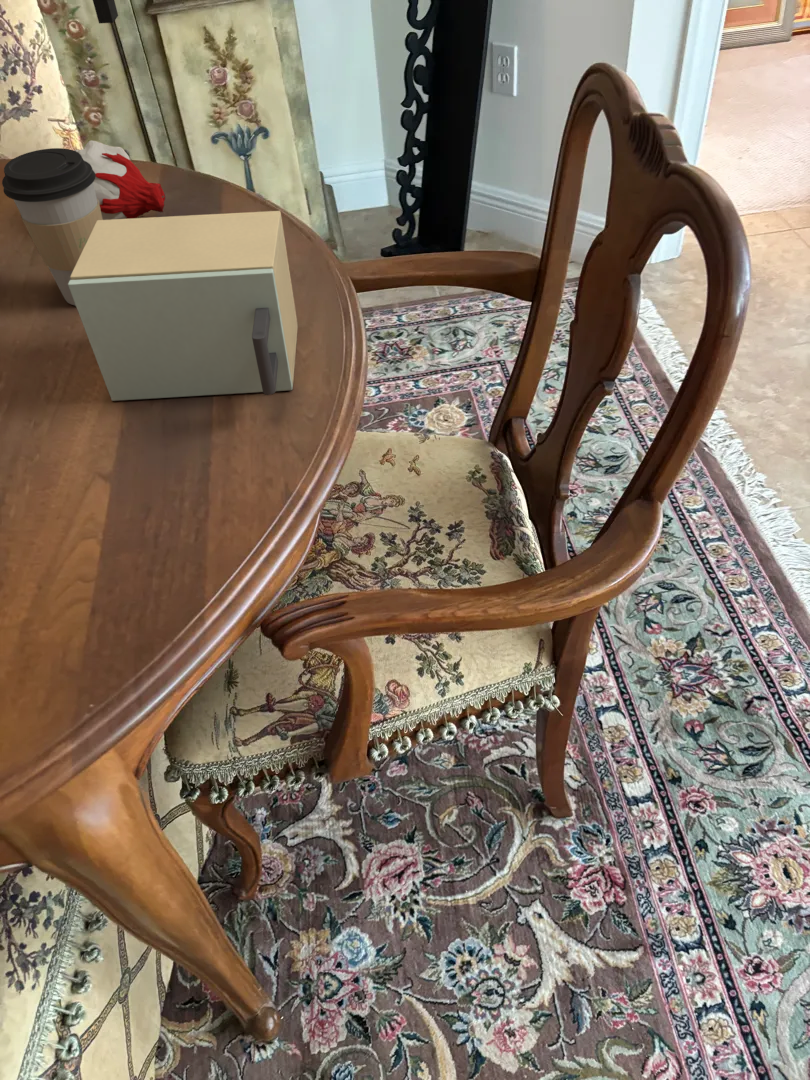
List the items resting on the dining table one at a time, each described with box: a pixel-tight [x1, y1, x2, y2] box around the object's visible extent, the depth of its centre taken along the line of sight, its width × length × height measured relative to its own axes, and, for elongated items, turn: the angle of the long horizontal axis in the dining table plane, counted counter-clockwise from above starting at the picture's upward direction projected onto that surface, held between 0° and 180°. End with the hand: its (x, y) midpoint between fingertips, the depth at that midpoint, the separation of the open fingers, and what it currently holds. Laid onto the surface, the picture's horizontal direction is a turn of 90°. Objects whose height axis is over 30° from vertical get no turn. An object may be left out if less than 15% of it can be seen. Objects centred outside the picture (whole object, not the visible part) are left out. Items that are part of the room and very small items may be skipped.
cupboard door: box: [68, 269, 294, 402], centre depth 72 cm, size 6×18×13 cm, turn 93°
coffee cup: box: [1, 147, 103, 307], centre depth 87 cm, size 9×9×15 cm
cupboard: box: [70, 210, 299, 386], centre depth 78 cm, size 11×18×13 cm, turn 93°
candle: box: [73, 140, 166, 220], centre depth 102 cm, size 9×11×15 cm
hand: (108, 19), depth 83 cm, fingers closed
